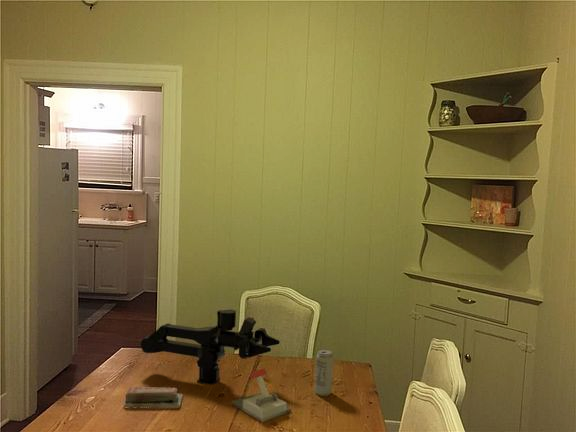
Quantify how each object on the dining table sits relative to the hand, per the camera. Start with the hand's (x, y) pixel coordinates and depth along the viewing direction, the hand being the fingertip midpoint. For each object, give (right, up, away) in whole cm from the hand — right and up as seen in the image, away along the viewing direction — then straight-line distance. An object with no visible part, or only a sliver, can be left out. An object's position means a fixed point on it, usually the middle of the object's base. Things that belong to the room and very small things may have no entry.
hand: (275, 346), depth 186 cm
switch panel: (-4, -17, -12) cm, 22 cm away
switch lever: (-2, -13, -16) cm, 21 cm away
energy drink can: (+17, -17, +2) cm, 24 cm away
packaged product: (-40, -16, -11) cm, 45 cm away
